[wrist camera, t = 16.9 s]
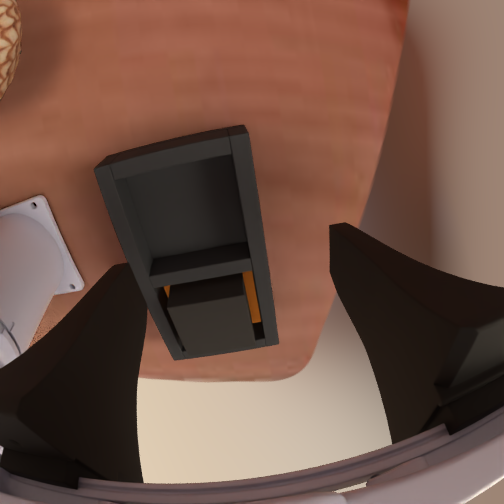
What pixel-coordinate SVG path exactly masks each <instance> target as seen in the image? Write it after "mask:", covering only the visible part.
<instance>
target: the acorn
mask: <svg viewBox="0 0 504 504" xmlns="http://www.w3.org/2000/svg"><path fill="white" fill-rule="evenodd" d="M21 37H22V25H21V13H20V11H19V8H18V4H17V2H16V0H0V100H1V99H2V97H3V95H4V93H5V91H6V89H7V88H8V86H9V84H10V83H11V82H12V80H13V77H14V75H15V70H16V67H17V64H18V62H19V55H20V54H21V51H20V49H21Z"/></svg>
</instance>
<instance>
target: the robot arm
mask: <svg viewBox="0 0 504 504" xmlns="http://www.w3.org/2000/svg"><path fill="white" fill-rule="evenodd" d="M33 202H34V203H36V205H37V207H36V206H34V204H33ZM329 234H330V274H331V277H332V280H333V282H334V285H335V288H336V290H337V293H338V295H339V297H340V299H341V301H342V303H343V305H344V307H345V309H346V311H347V313H348V315H349V317H350V319H351V321H352V323H353V324H354V326H355V328H356V330H357V332H358V334H359V336H360V338H361V340H362V342H363V344H364V346H365V349H366V352H367V354H368V357H369V360H370V363H371V366H372V369H373V372H374V375H375V378H376V381H377V384H378V388H379V391H380V394H381V398H382V402H383V405H384V409H385V413H386V417H387V420H388V426H389V430H390V435H391V439H392V445H389V446H387V447H384V448H381V449H378V450H375V451H372V452H369V453H365V454H363V455H359V456H356V457H353V458H349V459H345V460H342V461H338V462H334V463H330V464H326V465H322V466H318V467H313V468H309V469H305V470H299V471H295V472H289V473H284V474H278V475H272V476H265V477H258V478H251V479H243V480H233V481H222V482H208V483H186V484H152V483H144V482H143V477H142V471H141V465H140V457H139V447H138V437H137V412H136V411H137V383H138V375H139V369H140V362H141V356H142V351H143V345H144V339H145V333H146V324H147V303H146V301H145V298H144V296H143V294H142V292H141V289H140V287H139V285H138V283H137V280H136V278H135V276H134V273H133V271H132V269H131V266H130V264H129V262H127V263H122V264H117V265H114V266H112V267H111V268H110V269H109V270H108V271H107V272H106V273H105V274H104V275H103V276H102V277H101V278H100V279H99V280H98V281H97V283H96V284H95V285H94V286H93V287H92V288H91V289H90V290H89V291H88V292H87V294H86V295H85V296H84V297H83V298H82V299H81V300H80V301H79V302H78V303H77V304H76V305H75V306H74V307H73V309H72V310H71V311H70V312H69V313H68V314H67V315H66V316H65V317H64V318H63V319H62V320H61V321H60V322H59V323H58V324H57V325H56V326H55V327H54V328H53V329H51V330H50V331H49V332H48V333H47V334H46V335H45V336H44V337H43V338H41V339H40V340H39V341H38V342H36V343H35V344H34V345H33V346H31V347H30V348H29V346H30V343H31V341H32V339H33V336H34V334H35V332H36V330H37V328H38V326H39V323H40V321H41V319H42V317H43V315H44V313H45V311H46V309H47V307H48V305H49V303H50V301H51V299H52V297H53V295H57V294H63V293H69V292H74V291H80V290H82V289H83V287H84V282H83V280H82V278H81V276H80V274H79V272H78V270H77V268H76V266H75V264H74V262H73V260H72V258H71V255H70V253H69V251H68V249H67V247H66V245H65V243H64V240H63V238H62V236H61V234H60V231H59V229H58V227H57V224H56V222H55V220H54V217H53V215H52V212H51V210H50V207H49V205H48V202H47V200H46V198H45V197H44V196H42V195H38V196H35V197H32V198H30V199H27V200H24V201H22V202H19V203H16V204H14V205H11V206H9V207H6V208H4V209H1V210H0V504H464V503H466V502H468V501H469V500H471V499H473V498H474V497H476V496H477V495H479V494H481V493H482V492H484V491H485V490H487V489H488V488H490V487H491V486H493V485H494V484H496V483H497V482H499V481H500V480H502V479H503V478H504V288H503V287H497V286H492V285H487V284H483V283H479V282H475V281H471V280H467V279H464V278H460V277H457V276H455V275H452V274H448V273H445V272H443V271H440V270H437V269H435V268H432V267H430V266H428V265H425V264H423V263H420V262H418V261H416V260H414V259H412V258H410V257H408V256H406V255H404V254H402V253H400V252H398V251H396V250H394V249H392V248H390V247H389V246H387V245H385V244H383V243H381V242H380V241H378V240H376V239H375V238H373V237H371V236H369V235H368V234H366V233H364V232H363V231H361V230H359V229H357V228H356V227H354V226H352V225H350V224H348V223H346V222H345V223H339V224H333V225H329ZM71 284H73V285H74V286H72V285H71ZM28 348H29V349H28ZM363 482H367V483H366V486H367V487H364V488H359V489H355V490H351V491H347V492H342V493H336V492H334V491H336V490H339V489H343V488H346V487H350V486H353V485H357V484H360V483H363Z"/></svg>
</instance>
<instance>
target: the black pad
mask: <svg viewBox="0 0 504 504" xmlns="http://www.w3.org/2000/svg"><path fill="white" fill-rule="evenodd" d="M167 309H168V312H169V314H170V316H171V319H172V321H173V323H174V326H175V328H176V330H177V332H178V335H179V337H180V339H181V341H182V343H183V346H184V348H185V350H186V352H187V354H188V356H195V355H202V354H209V353H216V352H222V351H229V350H235V349H241V348H247V347H253V346H256V343H255V336H254V330H253V324H252V318H251V313H250V308H249V303H248V299H247V294H246V289H245V284H244V279H243V274H242V273H237V274H231V275H226V276H220V277H215V278H209V279H203V280H198V281H192V282H186V283H181V284H175V285H170V290H169V297H168V304H167Z"/></svg>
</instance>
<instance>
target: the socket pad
mask: <svg viewBox="0 0 504 504" xmlns="http://www.w3.org/2000/svg"><path fill="white" fill-rule="evenodd" d="M94 172H95V175H96V178H97V181H98V184H99V187H100V190H101V193H102V196H103V199H104V202H105V205H106V208H107V210H108V213H109V216H110V218H111V221H112V224H113V226H114V229H115V232H116V234H117V237H118V239H119V242H120V245H121V247H122V250H123V252H124V254H125V257H126V259H127V262H129V264H130V266H131V269H132V271H133V273H134V276H135V278H136V280H137V283H138V285H139V287H140V289H141V292H142V294H143V296H144V298H145V301H146V303H147V307H148V309H149V311H150V313H151V316H152V318H153V320H154V322H155V324H156V326H157V328H158V330H159V332H160V334H161V336H162V338H163V340H164V342H165V344H166V346H167V348H168V350H169V352H170V354H171V356H172V357H173V359H174V360H183V359H190V358H198V357H205V356H212V355H219V354H225V353H231V352H238V351H244V350H249V349H255V348H261V347H266V346H272V345H277V344H279V338H278V331H277V324H276V316H275V309H274V302H273V294H272V287H271V280H270V273H269V266H268V259H267V252H266V245H265V238H264V231H263V224H262V217H261V211H260V204H259V197H258V190H257V184H256V177H255V171H254V164H253V158H252V151H251V145H250V138H249V133H248V131H247V129H246V127H245V125H239V126H233V127H227V128H222V129H217V130H211V131H206V132H201V133H197V134H192V135H187V136H183V137H178V138H174V139H170V140H165V141H161V142H157V143H153V144H149V145H145V146H142V147H138V148H134V149H130V150H127V151H123V152H120V153H116V154H113V155H109V156H107V157H106V158H105V159H104V160H103V161H102V162H100V163H99V164H98V165H97V166H96V167H95V168H94ZM237 273H242V274H243V279H244V284H245V289H246V294H247V299H248V303H249V308H250V313H251V318H252V324H253V330H254V336H255V343H256V346H253V347H247V348H241V349H235V350H229V351H222V352H216V353H209V354H202V355H195V356H188V354H187V352H186V350H185V348H184V346H183V343H182V341H181V339H180V337H179V335H178V332H177V330H176V328H175V326H174V323H173V321H172V319H171V316H170V314H169V312H168V309H167V304H168V297H169V290H170V285H175V284H181V283H186V282H192V281H198V280H203V279H209V278H215V277H220V276H226V275H231V274H237Z"/></svg>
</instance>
